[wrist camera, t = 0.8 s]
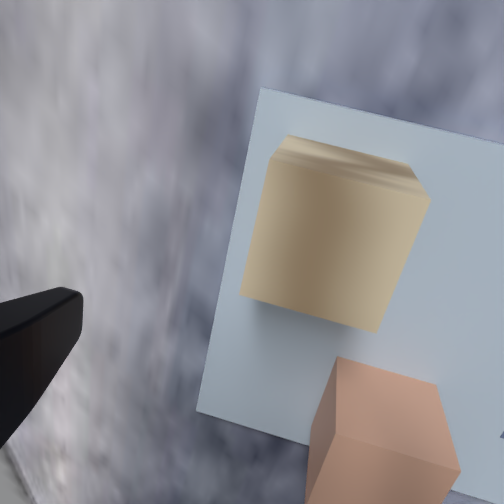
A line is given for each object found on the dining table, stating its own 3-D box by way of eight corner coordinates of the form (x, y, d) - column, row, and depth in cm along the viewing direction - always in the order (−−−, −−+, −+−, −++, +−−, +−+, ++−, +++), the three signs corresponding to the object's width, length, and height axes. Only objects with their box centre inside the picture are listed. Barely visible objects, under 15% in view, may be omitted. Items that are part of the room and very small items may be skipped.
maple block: (408, 163, 17) (431, 200, 13) (368, 270, 19) (376, 333, 15) (287, 134, 18) (269, 159, 13) (262, 242, 20) (238, 294, 15)
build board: (897, 237, 16) (918, 244, 15) (616, 531, 23) (623, 543, 23) (263, 87, 18) (260, 88, 17) (199, 403, 26) (195, 411, 25)
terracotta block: (436, 384, 21) (461, 471, 17) (400, 453, 23) (414, 546, 19) (337, 356, 22) (335, 433, 17) (311, 425, 24) (303, 510, 19)
